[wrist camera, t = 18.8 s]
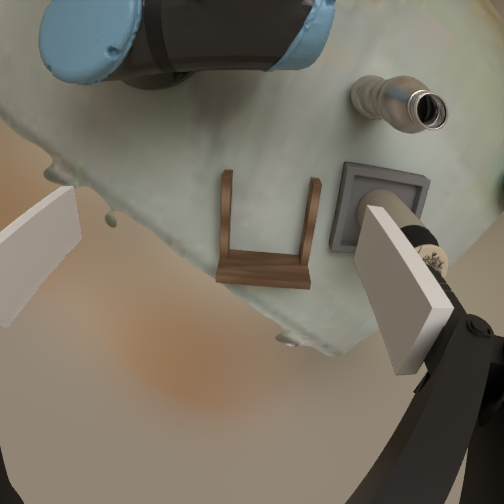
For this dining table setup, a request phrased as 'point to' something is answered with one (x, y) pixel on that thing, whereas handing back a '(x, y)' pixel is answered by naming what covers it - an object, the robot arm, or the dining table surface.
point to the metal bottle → (399, 103)
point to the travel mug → (406, 227)
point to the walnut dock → (261, 263)
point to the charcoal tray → (362, 182)
